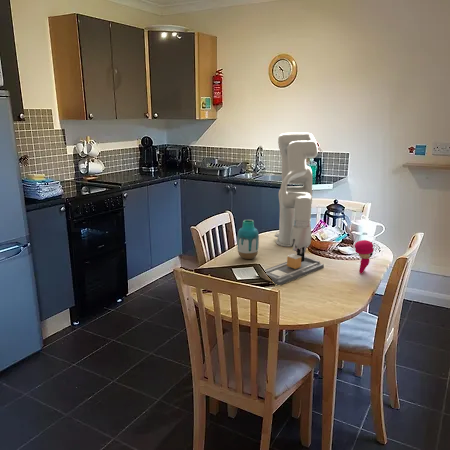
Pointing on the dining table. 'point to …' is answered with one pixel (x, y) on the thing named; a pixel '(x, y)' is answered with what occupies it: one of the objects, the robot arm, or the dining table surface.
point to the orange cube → (294, 261)
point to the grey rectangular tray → (292, 271)
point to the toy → (364, 253)
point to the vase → (248, 240)
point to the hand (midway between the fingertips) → (300, 260)
